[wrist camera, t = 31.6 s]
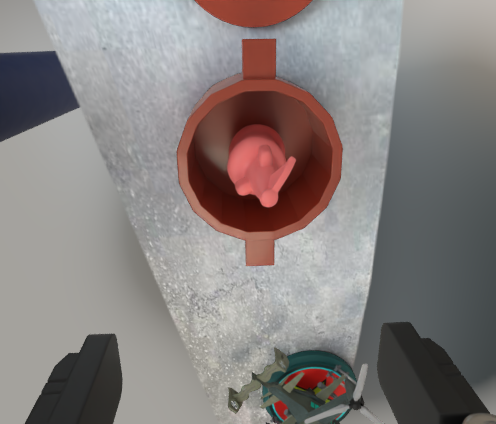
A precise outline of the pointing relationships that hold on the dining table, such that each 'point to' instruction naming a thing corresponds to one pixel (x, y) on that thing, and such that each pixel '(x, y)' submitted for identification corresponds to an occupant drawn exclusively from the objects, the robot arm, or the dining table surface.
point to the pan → (296, 145)
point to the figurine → (258, 163)
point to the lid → (253, 11)
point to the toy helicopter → (307, 389)
